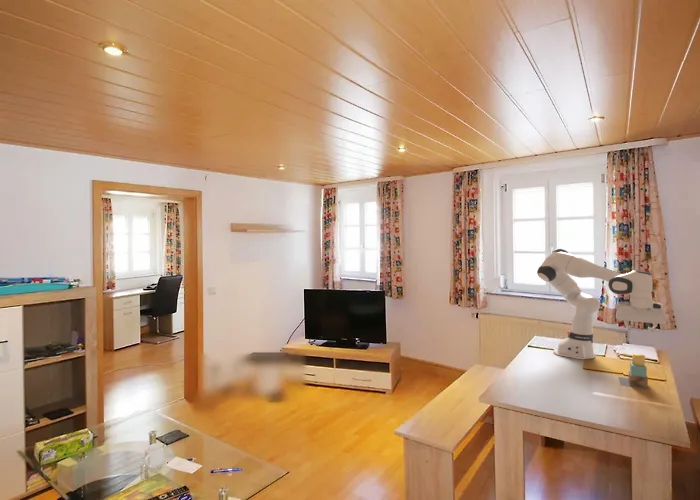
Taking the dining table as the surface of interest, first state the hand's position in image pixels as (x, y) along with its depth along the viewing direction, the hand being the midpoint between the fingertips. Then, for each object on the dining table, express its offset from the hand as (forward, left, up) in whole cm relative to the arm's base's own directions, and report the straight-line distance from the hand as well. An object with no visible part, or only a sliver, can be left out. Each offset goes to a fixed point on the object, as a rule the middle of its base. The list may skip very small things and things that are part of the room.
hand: (639, 330), depth 197 cm
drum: (0, 0, -17) cm, 17 cm away
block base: (0, 0, -27) cm, 27 cm away
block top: (0, 0, -22) cm, 22 cm away
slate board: (-2, +1, -28) cm, 28 cm away
